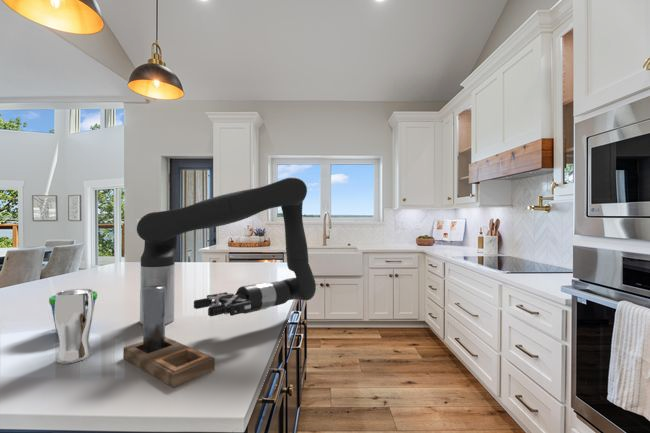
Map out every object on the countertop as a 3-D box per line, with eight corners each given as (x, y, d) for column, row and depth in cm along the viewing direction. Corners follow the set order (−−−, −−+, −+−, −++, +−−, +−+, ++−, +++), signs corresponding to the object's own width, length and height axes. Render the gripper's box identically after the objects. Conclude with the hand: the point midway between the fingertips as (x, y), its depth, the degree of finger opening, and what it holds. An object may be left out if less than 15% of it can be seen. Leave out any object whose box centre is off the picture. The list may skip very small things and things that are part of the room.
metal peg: (139, 357, 74) (139, 287, 74) (158, 351, 78) (159, 284, 78) (149, 363, 71) (149, 290, 71) (168, 356, 75) (169, 286, 75)
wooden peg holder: (123, 358, 74) (123, 346, 74) (162, 345, 81) (162, 334, 81) (173, 387, 61) (173, 373, 61) (214, 369, 69) (214, 356, 69)
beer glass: (68, 351, 77) (69, 288, 77) (99, 351, 77) (100, 288, 77) (45, 365, 70) (46, 295, 70) (80, 364, 70) (80, 295, 70)
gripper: (243, 280, 99) (189, 288, 87) (270, 288, 88) (214, 298, 77) (243, 305, 99) (189, 316, 87) (270, 316, 88) (213, 330, 77)
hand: (201, 308), depth 82 cm, fingers open, 8 cm apart
